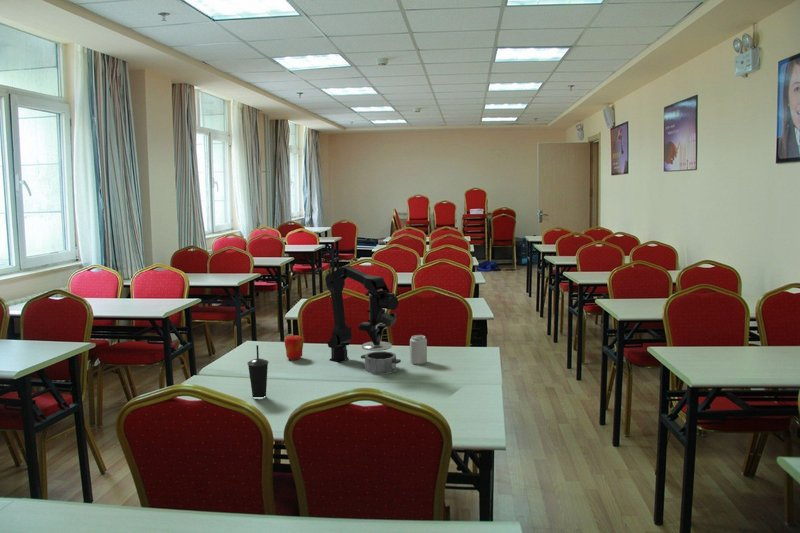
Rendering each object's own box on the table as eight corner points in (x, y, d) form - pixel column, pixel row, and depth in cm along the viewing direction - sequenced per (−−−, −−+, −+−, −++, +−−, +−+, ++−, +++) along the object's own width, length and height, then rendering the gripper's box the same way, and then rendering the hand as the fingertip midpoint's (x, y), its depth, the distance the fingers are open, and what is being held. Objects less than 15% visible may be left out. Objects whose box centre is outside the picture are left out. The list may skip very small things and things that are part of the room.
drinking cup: (250, 394, 241) (248, 343, 238) (270, 394, 242) (269, 342, 239) (247, 401, 234) (245, 348, 231) (268, 400, 234) (266, 347, 232)
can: (425, 365, 277) (425, 338, 276) (408, 364, 279) (408, 337, 277) (428, 360, 284) (428, 334, 283) (411, 360, 286) (411, 333, 284)
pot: (354, 370, 271) (354, 356, 270) (370, 362, 282) (370, 349, 282) (391, 376, 262) (391, 362, 262) (406, 367, 274) (406, 354, 273)
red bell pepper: (294, 362, 284) (293, 336, 282) (280, 359, 288) (280, 334, 287) (307, 357, 291) (307, 332, 289) (294, 355, 295) (293, 330, 294)
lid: (356, 348, 268) (355, 335, 267) (372, 341, 279) (372, 329, 278) (381, 352, 262) (381, 339, 261) (397, 345, 272) (397, 332, 272)
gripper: (380, 312, 256) (381, 350, 258) (403, 304, 272) (404, 340, 274) (357, 310, 261) (358, 347, 264) (381, 302, 277) (382, 337, 280)
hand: (376, 343), depth 270 cm, fingers closed on lid, 3 cm apart
